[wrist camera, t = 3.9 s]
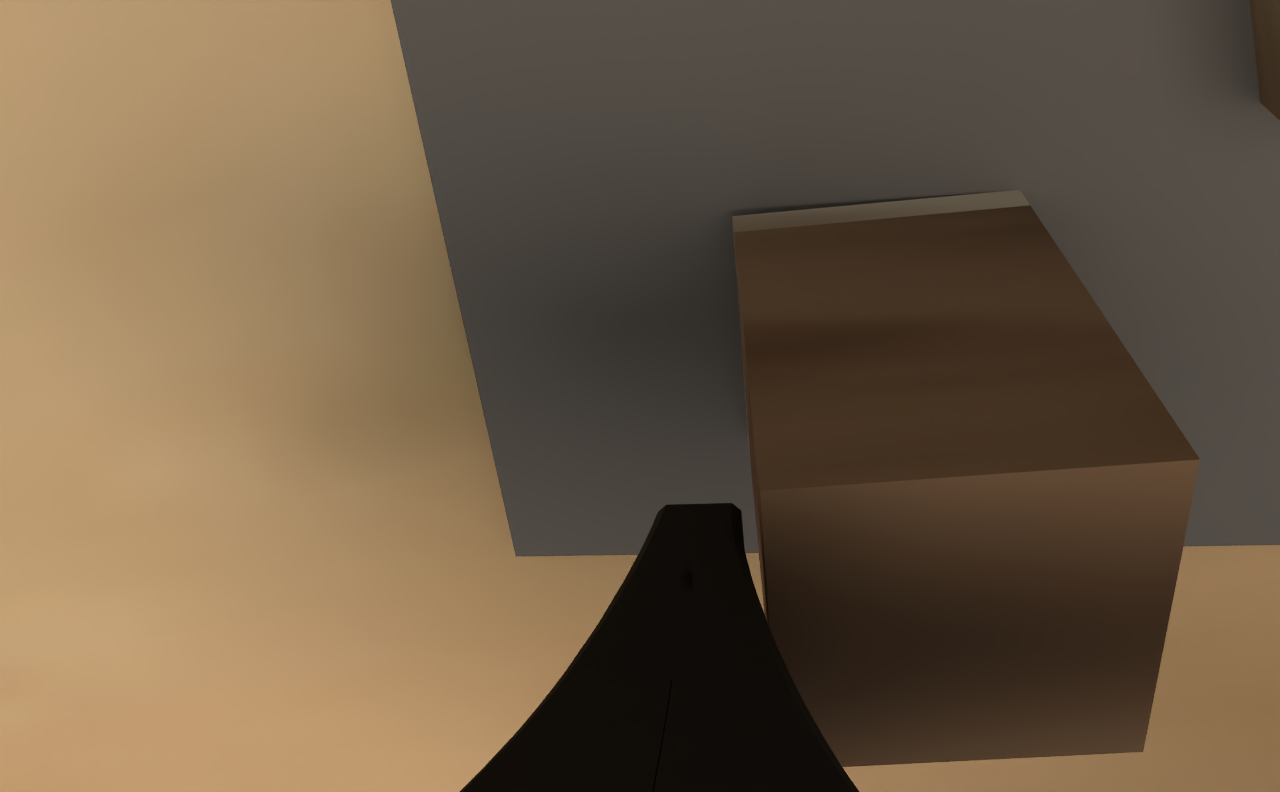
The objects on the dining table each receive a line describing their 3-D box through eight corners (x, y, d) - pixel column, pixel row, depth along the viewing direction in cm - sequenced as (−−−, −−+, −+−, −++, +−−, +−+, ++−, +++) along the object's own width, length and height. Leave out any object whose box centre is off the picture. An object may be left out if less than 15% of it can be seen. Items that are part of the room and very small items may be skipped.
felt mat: (1502, 530, 20) (1510, 541, 20) (519, 546, 23) (516, 556, 22) (1884, -447, 12) (1907, -449, 12) (342, -248, 15) (335, -247, 15)
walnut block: (1001, 425, 19) (1143, 751, 14) (748, 445, 20) (778, 770, 14) (1019, 188, 17) (1199, 459, 11) (732, 216, 17) (759, 490, 12)
